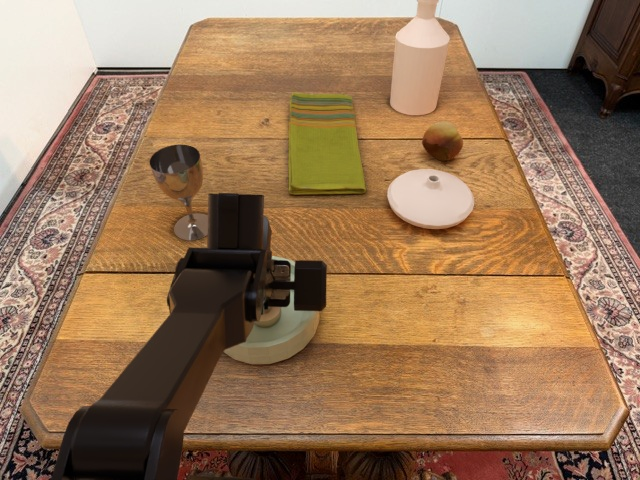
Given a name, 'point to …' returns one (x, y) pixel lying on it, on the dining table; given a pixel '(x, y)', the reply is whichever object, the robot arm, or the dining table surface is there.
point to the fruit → (442, 141)
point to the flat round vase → (430, 198)
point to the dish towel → (323, 145)
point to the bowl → (278, 334)
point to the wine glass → (181, 185)
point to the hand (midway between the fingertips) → (262, 278)
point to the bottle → (419, 62)
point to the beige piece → (269, 317)
